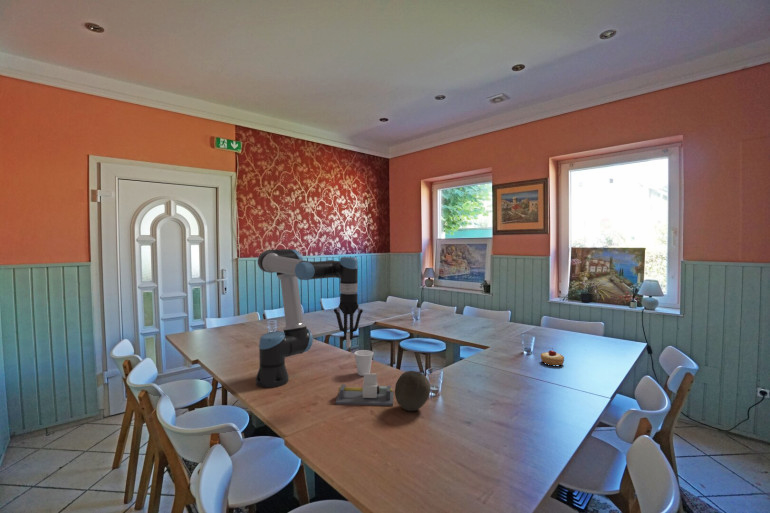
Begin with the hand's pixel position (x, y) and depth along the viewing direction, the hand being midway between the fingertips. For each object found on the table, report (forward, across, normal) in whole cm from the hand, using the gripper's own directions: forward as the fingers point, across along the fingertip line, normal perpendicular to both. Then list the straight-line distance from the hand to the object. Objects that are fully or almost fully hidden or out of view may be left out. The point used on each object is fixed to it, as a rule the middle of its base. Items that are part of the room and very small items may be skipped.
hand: (348, 346), depth 155 cm
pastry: (+22, +108, +51) cm, 121 cm away
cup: (+23, +4, +28) cm, 36 cm away
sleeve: (+21, +10, -1) cm, 23 cm away
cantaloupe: (+22, +28, -9) cm, 37 cm away
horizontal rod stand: (+22, +8, -1) cm, 24 cm away
